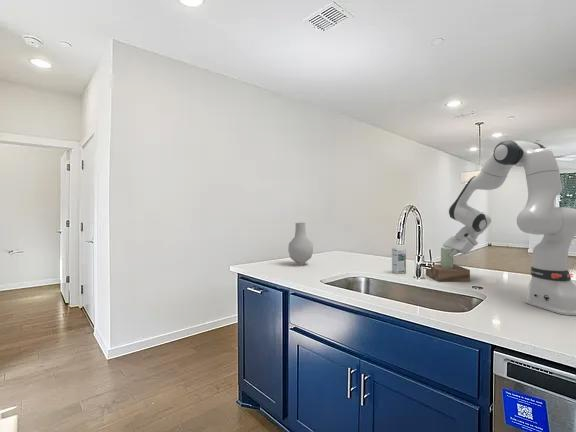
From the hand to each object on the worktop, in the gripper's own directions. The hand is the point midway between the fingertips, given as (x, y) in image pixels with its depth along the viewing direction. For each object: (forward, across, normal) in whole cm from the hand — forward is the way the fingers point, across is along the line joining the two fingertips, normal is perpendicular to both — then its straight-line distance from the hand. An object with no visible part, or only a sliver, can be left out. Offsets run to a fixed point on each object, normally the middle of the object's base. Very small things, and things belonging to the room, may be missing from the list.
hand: (446, 255), depth 178 cm
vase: (+63, -44, -45) cm, 89 cm away
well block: (+8, 0, +9) cm, 12 cm away
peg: (+6, 0, +6) cm, 8 cm away
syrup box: (+24, -15, -6) cm, 28 cm away
